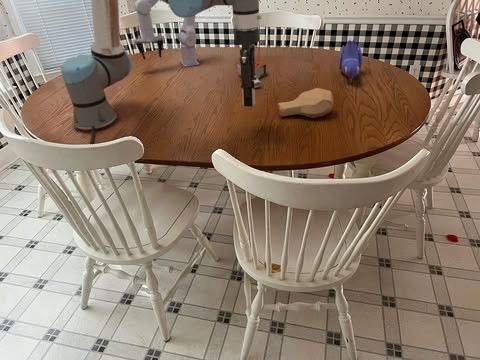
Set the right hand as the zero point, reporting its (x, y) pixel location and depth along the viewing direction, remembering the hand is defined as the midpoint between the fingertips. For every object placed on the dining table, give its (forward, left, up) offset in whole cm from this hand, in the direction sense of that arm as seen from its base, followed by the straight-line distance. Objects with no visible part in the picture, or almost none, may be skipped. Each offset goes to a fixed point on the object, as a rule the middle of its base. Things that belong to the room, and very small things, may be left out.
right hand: (152, 58), depth 173 cm
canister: (+76, +22, +3) cm, 79 cm away
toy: (+50, +79, -7) cm, 93 cm away
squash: (+75, +44, -7) cm, 87 cm away
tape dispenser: (+32, +39, -7) cm, 51 cm away
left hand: (+76, +22, +3) cm, 79 cm away
